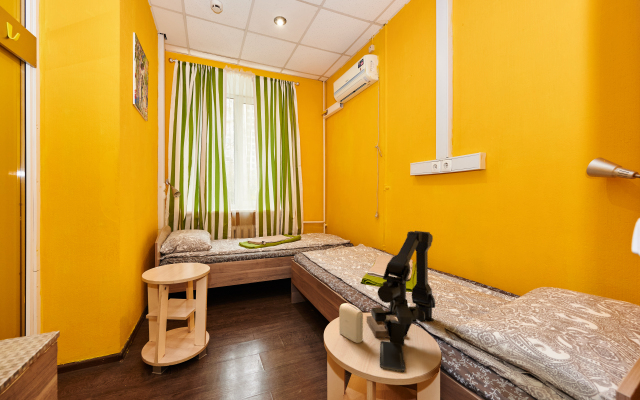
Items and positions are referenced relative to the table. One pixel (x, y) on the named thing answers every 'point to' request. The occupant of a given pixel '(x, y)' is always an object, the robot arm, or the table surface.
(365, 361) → the table surface
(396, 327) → the ink cartridge
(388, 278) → the robot arm
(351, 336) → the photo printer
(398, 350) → the phone
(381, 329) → the slot board
